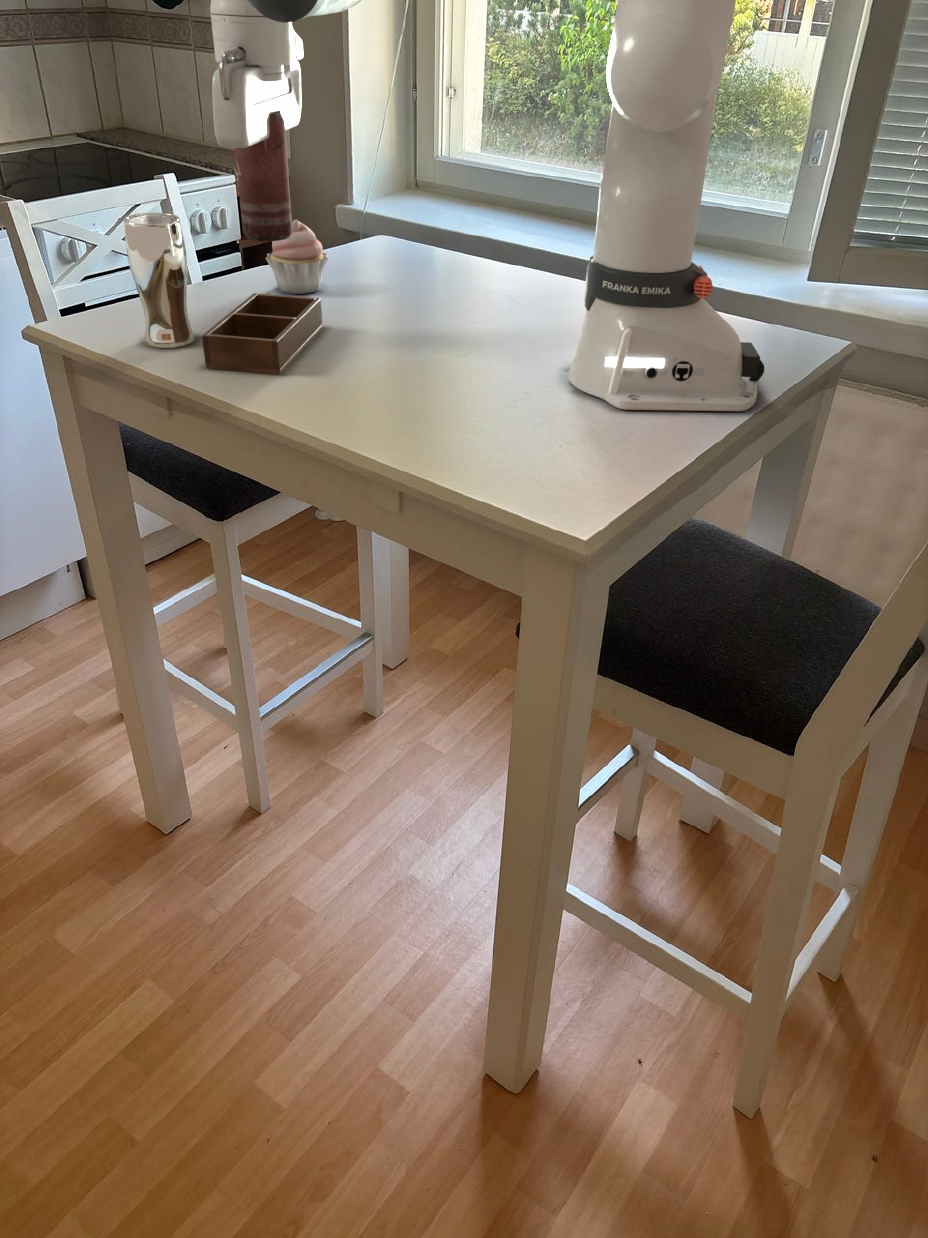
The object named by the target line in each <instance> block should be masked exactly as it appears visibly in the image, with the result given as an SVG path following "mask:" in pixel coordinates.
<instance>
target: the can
mask: <svg viewBox="0 0 928 1238" xmlns="http://www.w3.org/2000/svg"><path fill="white" fill-rule="evenodd" d="M269 128H270V134H269V138H268V139H265V140H263V141H261V142H259V143H256V144H254V145H252V146H250V147H247V148H234V158H235V167H236V176H237V185H238V197H239V204H240V205H239V206H240V216H241V226H242V234H244V236H245V238H246V239H248V240H250V241H255V242H272V241H280V240H285V239H287V238H289V237H290V236H291V234H292V232H293V230H292V221H293V218H292V217H293V216H292V204H291V203H292V202H291V191H290V189H291V188H290V175H289V162H288V148H287V137H286V135H287V134H286V131H285V120H284V118H283V117H282V115H281V111H279V113H275V114H270V118H269Z"/></svg>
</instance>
